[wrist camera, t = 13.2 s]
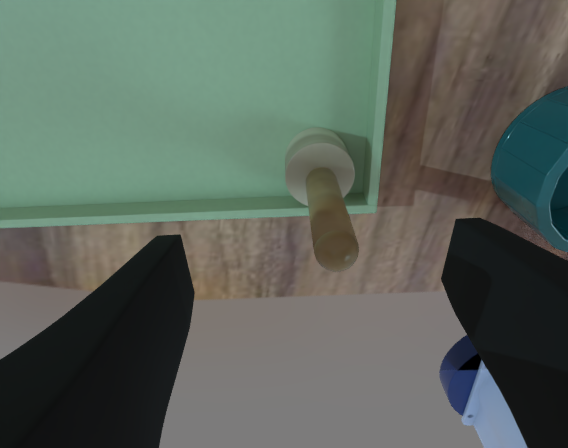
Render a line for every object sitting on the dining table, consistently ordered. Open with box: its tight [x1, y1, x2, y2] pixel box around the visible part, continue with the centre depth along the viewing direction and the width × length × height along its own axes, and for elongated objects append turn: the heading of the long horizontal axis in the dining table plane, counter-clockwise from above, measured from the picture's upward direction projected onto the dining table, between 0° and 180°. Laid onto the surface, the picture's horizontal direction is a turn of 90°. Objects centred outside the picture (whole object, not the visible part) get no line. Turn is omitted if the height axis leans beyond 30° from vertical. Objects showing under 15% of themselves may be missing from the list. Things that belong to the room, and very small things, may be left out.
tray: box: [0, 0, 396, 228], centre depth 17 cm, size 13×25×2 cm, turn 93°
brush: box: [285, 127, 359, 272], centre depth 15 cm, size 3×3×9 cm
